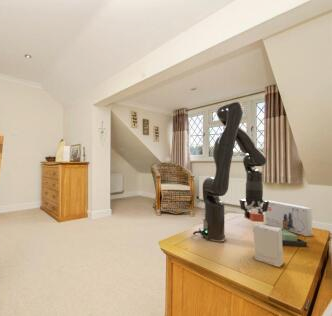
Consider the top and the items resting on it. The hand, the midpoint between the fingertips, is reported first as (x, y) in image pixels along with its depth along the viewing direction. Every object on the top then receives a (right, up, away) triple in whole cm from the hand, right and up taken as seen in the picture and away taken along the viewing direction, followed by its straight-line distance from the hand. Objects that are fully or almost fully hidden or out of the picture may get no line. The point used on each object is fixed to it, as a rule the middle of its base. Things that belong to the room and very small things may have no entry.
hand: (253, 218), depth 110 cm
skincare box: (+28, -10, +9) cm, 31 cm away
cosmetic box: (-17, -10, -28) cm, 34 cm away
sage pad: (+10, -9, -8) cm, 16 cm away
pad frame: (+11, -10, -4) cm, 15 cm away
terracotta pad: (0, -1, 0) cm, 1 cm away
